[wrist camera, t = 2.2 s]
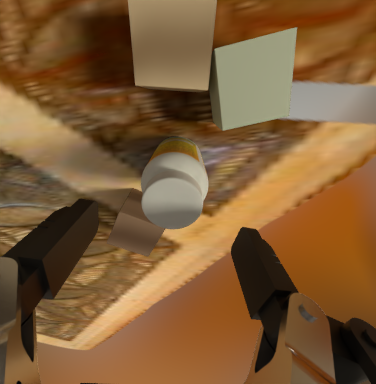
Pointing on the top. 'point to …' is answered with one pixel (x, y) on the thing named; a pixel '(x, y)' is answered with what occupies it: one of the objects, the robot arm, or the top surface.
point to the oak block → (172, 43)
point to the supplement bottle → (174, 184)
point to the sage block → (252, 80)
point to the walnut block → (134, 227)
